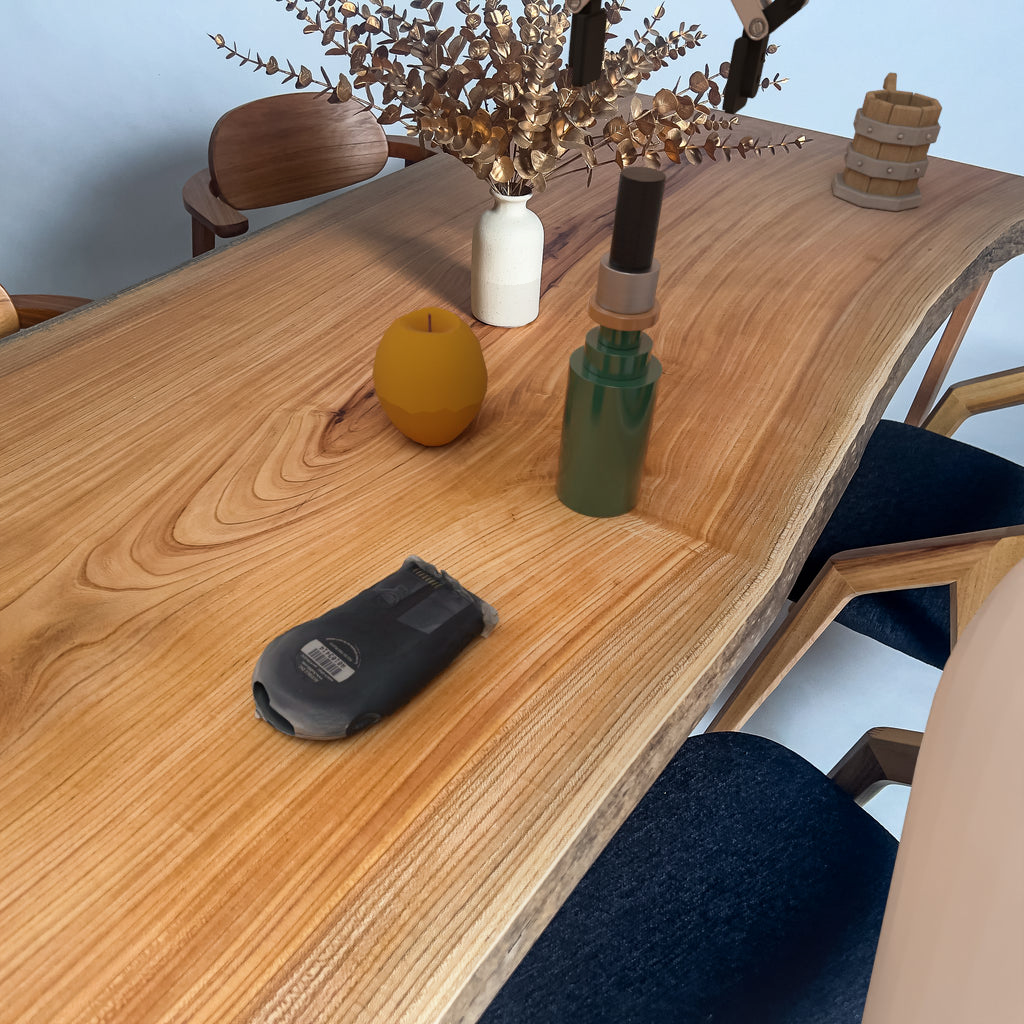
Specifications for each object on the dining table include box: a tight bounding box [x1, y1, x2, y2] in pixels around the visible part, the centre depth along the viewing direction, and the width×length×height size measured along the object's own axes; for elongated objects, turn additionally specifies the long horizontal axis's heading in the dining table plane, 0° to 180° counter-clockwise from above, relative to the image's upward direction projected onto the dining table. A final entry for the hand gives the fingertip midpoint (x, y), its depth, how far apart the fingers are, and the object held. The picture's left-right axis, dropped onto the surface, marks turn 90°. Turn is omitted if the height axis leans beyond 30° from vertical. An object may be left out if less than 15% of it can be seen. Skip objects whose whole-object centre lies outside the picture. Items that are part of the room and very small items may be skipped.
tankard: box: [831, 71, 943, 212], centre depth 137 cm, size 20×13×15 cm, turn 167°
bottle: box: [554, 290, 663, 518], centre depth 70 cm, size 7×7×17 cm
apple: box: [371, 306, 489, 447], centre depth 77 cm, size 10×10×12 cm
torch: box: [595, 166, 667, 314], centre depth 62 cm, size 4×4×9 cm
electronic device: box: [251, 554, 500, 741], centre depth 58 cm, size 9×6×15 cm
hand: (658, 95), depth 56 cm, fingers open, 9 cm apart
